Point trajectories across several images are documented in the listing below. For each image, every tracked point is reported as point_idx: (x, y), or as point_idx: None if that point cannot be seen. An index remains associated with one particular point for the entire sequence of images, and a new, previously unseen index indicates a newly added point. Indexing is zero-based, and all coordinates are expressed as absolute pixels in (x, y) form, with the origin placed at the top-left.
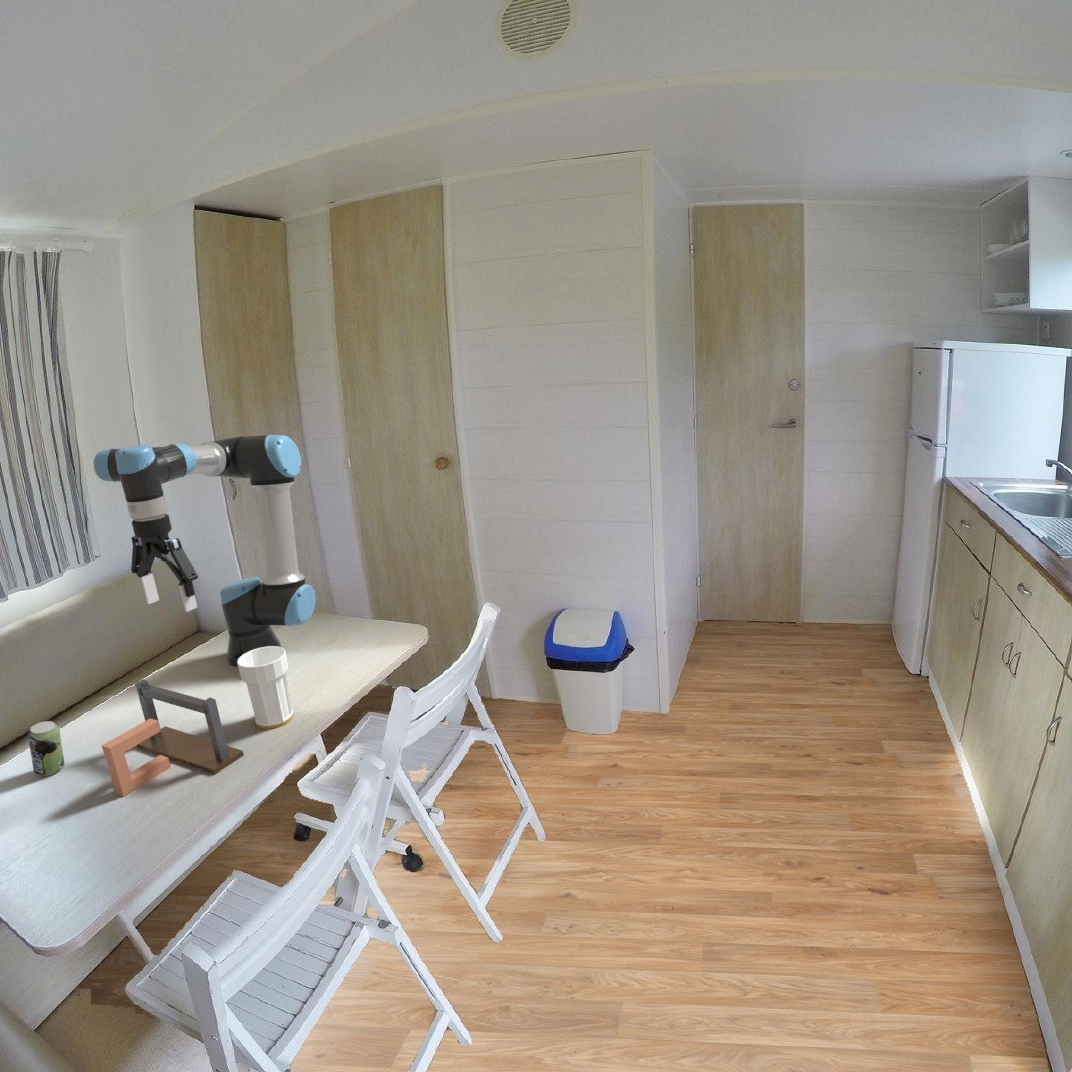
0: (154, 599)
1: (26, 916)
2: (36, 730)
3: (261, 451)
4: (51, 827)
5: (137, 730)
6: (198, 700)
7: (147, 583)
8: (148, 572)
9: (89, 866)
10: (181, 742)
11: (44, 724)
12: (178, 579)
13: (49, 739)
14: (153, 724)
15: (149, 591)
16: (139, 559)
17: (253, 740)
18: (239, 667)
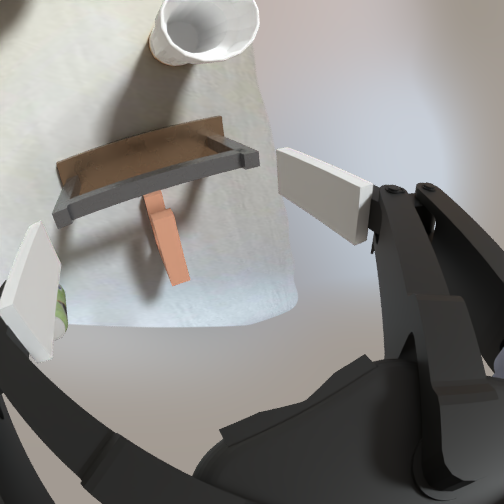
0: (49, 244)
1: (259, 317)
2: (56, 334)
3: None
4: (166, 301)
5: (174, 244)
6: (217, 163)
7: (43, 311)
8: (4, 331)
9: (249, 284)
10: (123, 161)
11: None
12: (375, 253)
13: (66, 317)
14: (175, 222)
15: (47, 282)
16: (7, 448)
17: (199, 88)
18: (198, 61)
